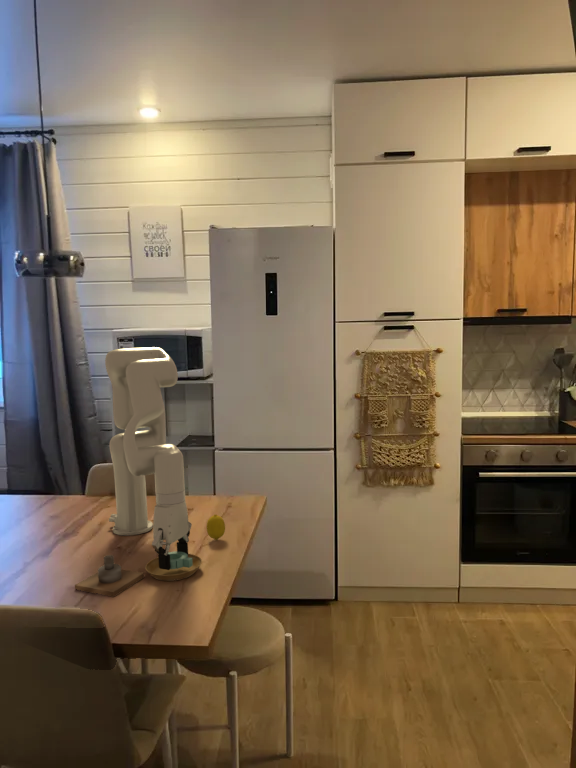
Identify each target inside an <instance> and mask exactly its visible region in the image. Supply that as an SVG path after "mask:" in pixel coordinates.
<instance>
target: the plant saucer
mask: <svg viewBox="0 0 576 768" xmlns="http://www.w3.org/2000/svg"><path fill="white" fill-rule="evenodd" d="M188 557H189V558H192V561H193V566H191V567H190V568H188V567H182V568H178V569H177V568H176V569H169V570H165V569H160V568H159V558H158V556H157V557H154V558H153V559H151V560H150V561H148V562H147V563H146V564H145V567H144V569H145V570H146V572H147V573H148V574H149V575H150V576H152V578H154V579H156V580H158V581H164V582H171V581H172V582H174V580H175V581H180V580H183V579H186V578H189V577H191V576H192V575H194V574H195V573H196V571H198V569H199V568H200V567H201V565H202V563H203V559H202V558H201V557H200V556H198V555H196V554H192V553H188Z"/></svg>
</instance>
